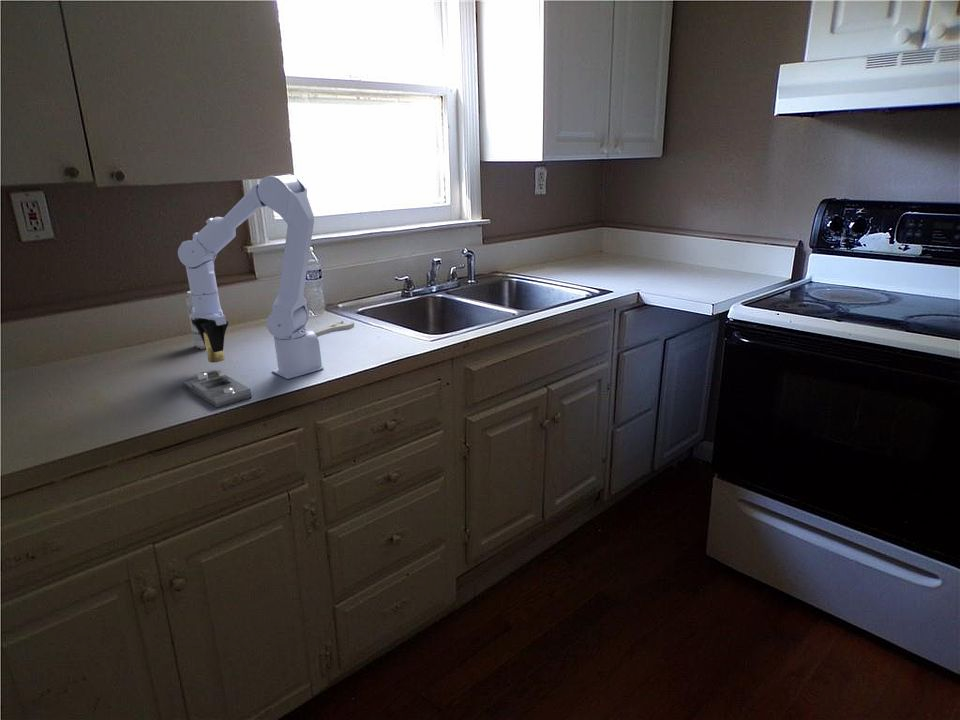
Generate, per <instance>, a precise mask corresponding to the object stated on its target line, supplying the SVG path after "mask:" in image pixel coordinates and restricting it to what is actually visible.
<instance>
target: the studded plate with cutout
mask: <svg viewBox="0 0 960 720" xmlns="http://www.w3.org/2000/svg"><path fill="white" fill-rule="evenodd" d="M182 384H183V387H184V388H185V389H188V390H189V391H190V392H192V393H193V394H195V395H196V396H198V397H199V396H200V397H199V398H201V399H202V398H203V400H204V401H205V400H206V402H207V401H208V402H207V403H208V404H210V403H211V404H210V405H212V406H213V405H214V406H213V407H215V406H216V407H218V408H220V407H219V406H221V407H224V406H223V405H225V406H227V405H226V404H228V405H231V404H230V403H232V404H234V403H233V402H235V403H238V402H241V401H240V400H242V401H244V400H243V399H245V400H248V399H251V398H250V397H252V391H251V388H250V387H248V386H246V385H244V384H242V383H241V382H239V381H237V380H235V378H232V377H230V376H228V375H227V374H222V375H220V374H218V373H212V374H208V372H207V371H202V372H198V373H197V378H194V379H190V380H186V381H183V383H182ZM247 398H248V399H247ZM237 401H238V402H237ZM216 407H215V408H216Z"/></svg>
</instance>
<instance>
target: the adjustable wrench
mask: <svg viewBox="0 0 960 720" xmlns="http://www.w3.org/2000/svg"><path fill="white" fill-rule="evenodd" d="M354 327H355V321H354V320H351V321H350V322H347V323H344V320H337V321H333V322H329V323H328V324H327V326H324V327H322V328H318V329H315V330H312V331H313V332H314V333H315V334H316V336H317V337H320V336H323V335H326V334H330V333H332V332H338V331H346V330H351V329H353V328H354Z"/></svg>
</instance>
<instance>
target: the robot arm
mask: <svg viewBox="0 0 960 720" xmlns="http://www.w3.org/2000/svg"><path fill="white" fill-rule="evenodd" d="M309 201H310V200H309V198H308V189H307V187H306V186H305V184H303V183H302V181H301V180H300V179H299V178H298V177H297V176H295V175H294V174H290V173H287V174H282V175H267V176H265V177H263V178H261V180H260V181H259V182H258V183H255V184H254V185H252V187H251V188H250V189H249V191H248V192H247V193H246V194H244V196H242V198H241V199H240V200H239V201H237V203H236V204H235V205H233V207H232V208H231V209H230V210H229V211H228V212H227V213H226V214H225V215H224V216H222V217H221V216H215V217H210V218H208V219H207V220H205V223H206V225H205V226H203V228H201V229H200V230H199V232H194V233H193V234H192V240H184V241H182V242H181V244H180V245H179V247H178V249H177V256H178V259H179V261H180V263H182V264H183V266H185V271H186V276H187V280H188V281H187V282H188V285H189V291H190V292H191V297H192V302H193V307H192V311H193V313H192V314H188V317H189V316H190V317H191V318H198V319H195V320H192V323H193V325H194V326H195V327H196V328H197V330H198V332H199V333H200V335H201V338H202V340H203V342H204V345H205V340H204V334H203V332H206V334H207V336H208V339H209V342H210V345H211V348H212V350H213V352H219V351H223V352H224V347H225V345H224V344H225V335H226V331H227V328H228V326H229V321H228V320H226V319H227V318H226V315H225V314H223V309H222V307H221V303H220V295H219V289H218V285H217V279H216V273H215V260H216V258H217V256H218V255H217V254H218V253H219V252H220V251H222V250H223V248H225V247H226V246H227V245H228V244H229V243H230V242H231V241H232V240H234V238H236V236H237V234H236V232H237V231H236V229H237V228H238V227H239V226H240V225H242V224H243V223H244V222H246V220H247V219H249V218H250V217H251V216H253V215H254V214H255V213H257V212H258V211H259V209H261V208H265V207H267V208H269V209H271V210H272V211H274V212H275V213H277V214H278V215H279V216H280V217H281V218H282V219H283V221H284V222H285V223H286V225H287V228H286V237H285V244H284V252H283V257H282V264H281V265H282V266H281V274H280V282H279V287H278V288H279V290H278V295H277V296H276V298H275V300H274V302H273V304H272V308H271V309H272V310H271V312H270V313H269V315H268V316H267V318H266V322H265V324H266V329H267V330H268V332H269V333H270V334H271V335H272V336H273V342H274V348H275V354H276V355H275V356H276V363H277V367H275V368H272V369H271V372H272V373H274V374H276V375H278V376H280V377H282V378H284V379H286V380H289V379H293V378H296V377H300V376H303V375H308V374H311V373H314V372H317V371H318V372H319V371H321V370H324V369H325V368H324V366H323V365H322V355H321V348H320V341H319V338H318V336H316V334H315V333H314V332H313V331H314V330H312V329H311V330H307V329H306V325H307V323H308V322H309V317H310V315H309V312H308V308H307V303H308V299H306V297H305V296H304V295H305V294H304V293H305V287H306V278H307V271H308V267H309V266H308V265H309V258H310V252H311V246H312V245H311V244H312V238H313V233H314V224H315V215H314V213H313V210H312V207H311V204H310V202H309ZM205 347H206V345H205Z"/></svg>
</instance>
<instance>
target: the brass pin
mask: <svg viewBox="0 0 960 720" xmlns="http://www.w3.org/2000/svg"><path fill="white" fill-rule="evenodd" d="M203 334H204V340H205V345H206V349H205V350H206V355H207V356H206V357H207V362H209V363H212V364H213V363H220V362H223V361H225V353H224V350H223V351H219V352H213V350H212V348H211V345H210V342H209V339H208V336H207V334H206V332H203Z"/></svg>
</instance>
